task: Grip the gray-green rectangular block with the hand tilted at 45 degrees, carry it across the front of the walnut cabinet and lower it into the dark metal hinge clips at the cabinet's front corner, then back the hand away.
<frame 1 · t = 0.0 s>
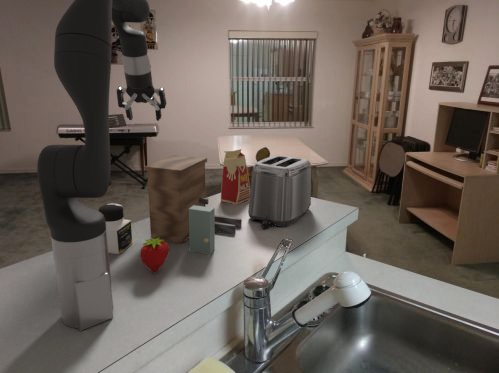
hand: (144, 119, 119), 31 cm above the counter, tool tilted 20°, fingers open, 8 cm apart
strawberry: (156, 272, 89), on the counter
gray-green rectangular block: (202, 250, 101), on the counter
milk carton: (234, 200, 143), on the counter
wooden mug: (257, 193, 152), on the counter
wooden cabinet: (179, 230, 114), on the counter
toaster: (278, 215, 128), on the counter
medicine bottle: (114, 248, 101), on the counter
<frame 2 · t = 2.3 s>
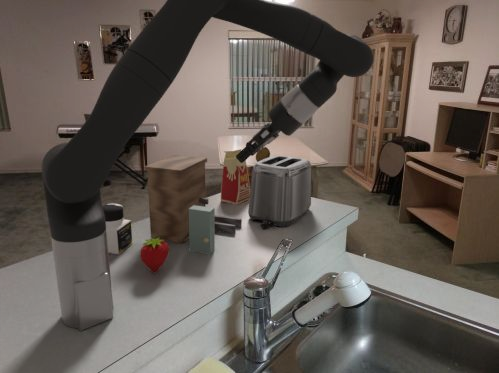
hand: (244, 156, 91), 27 cm above the counter, tool tilted 45°, fingers open, 8 cm apart
nothing on the counter moved.
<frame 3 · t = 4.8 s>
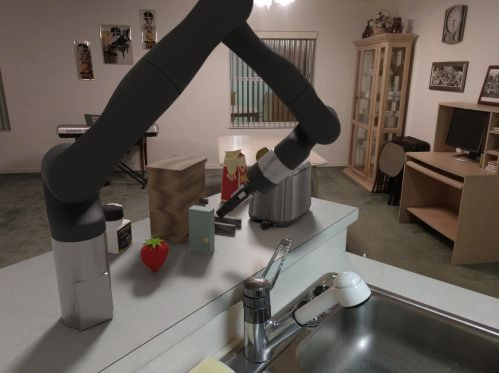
hand: (224, 209, 96), 12 cm above the counter, tool tilted 45°, fingers open, 8 cm apart
nothing on the counter moved.
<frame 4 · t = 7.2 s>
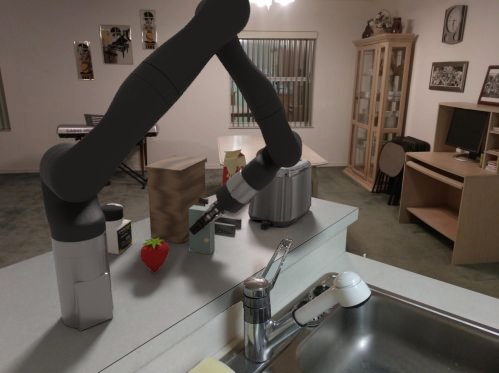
hand: (194, 229, 100), 6 cm above the counter, tool tilted 45°, fingers closed on gray-green rectangular block, 3 cm apart
gray-green rectangular block: (202, 250, 101), on the counter, touching gripper
everything else where it was.
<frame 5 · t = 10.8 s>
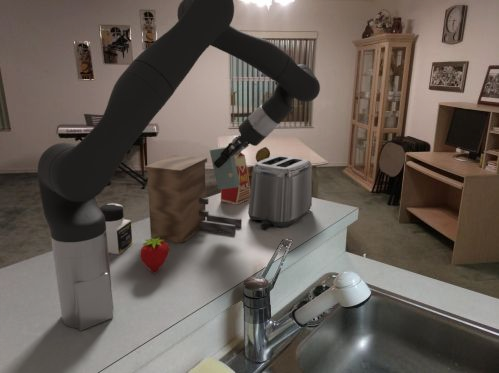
hand: (218, 164, 111), 20 cm above the counter, tool tilted 45°, fingers closed on gray-green rectangular block, 3 cm apart
gray-green rectangular block: (229, 187, 112), point 13 cm above the counter, tilted 13°, touching gripper
everything else where it was.
when the fingers open (7 cm above the counter, at t = 14.2 s): gray-green rectangular block stays where it is, on the counter.
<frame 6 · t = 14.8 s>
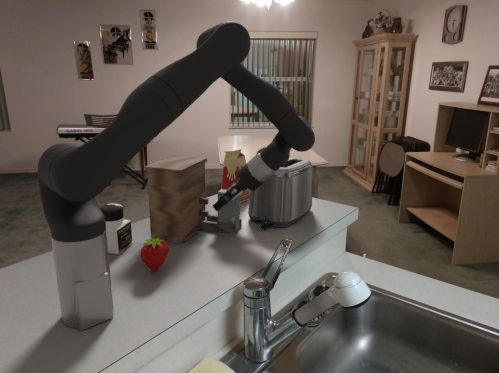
hand: (220, 204, 114), 8 cm above the counter, tool tilted 45°, fingers open, 8 cm apart
gray-green rectangular block: (228, 228, 116), on the counter
everything else where it was.
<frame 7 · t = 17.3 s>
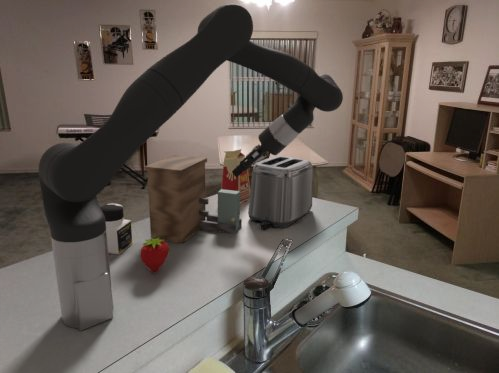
hand: (239, 171, 110), 19 cm above the counter, tool tilted 45°, fingers open, 8 cm apart
nothing on the counter moved.
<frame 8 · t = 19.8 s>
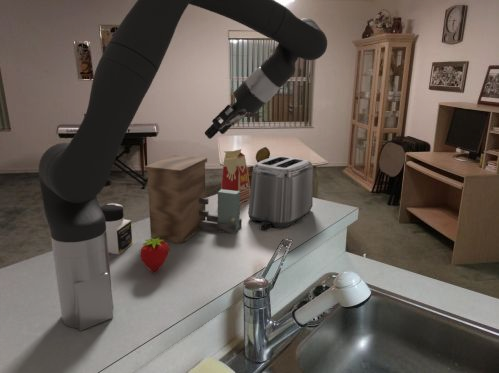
hand: (213, 133, 98), 31 cm above the counter, tool tilted 45°, fingers open, 8 cm apart
at the end: gray-green rectangular block 1.4 cm from the target spot, on the counter; gray-green rectangular block tilted 0°; the gripper is holding nothing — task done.
